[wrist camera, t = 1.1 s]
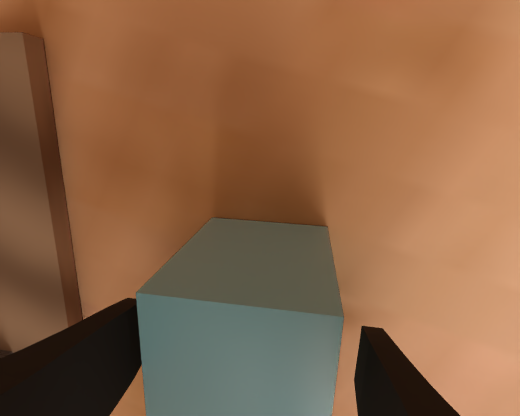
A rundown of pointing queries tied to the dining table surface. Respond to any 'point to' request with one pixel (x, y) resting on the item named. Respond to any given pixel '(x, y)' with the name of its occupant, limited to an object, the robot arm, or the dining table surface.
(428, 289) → the dining table surface
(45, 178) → the walnut board
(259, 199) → the dining table surface
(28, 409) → the robot arm
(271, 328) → the teal block
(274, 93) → the dining table surface
